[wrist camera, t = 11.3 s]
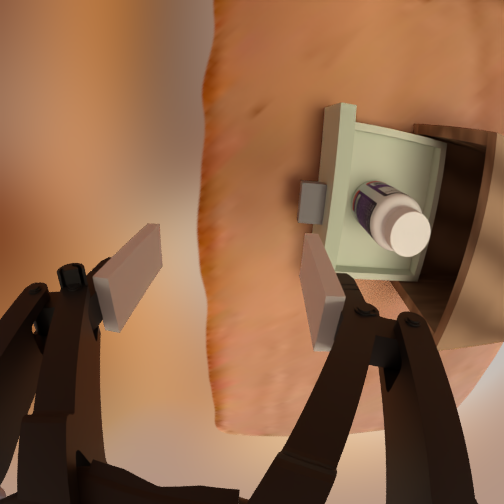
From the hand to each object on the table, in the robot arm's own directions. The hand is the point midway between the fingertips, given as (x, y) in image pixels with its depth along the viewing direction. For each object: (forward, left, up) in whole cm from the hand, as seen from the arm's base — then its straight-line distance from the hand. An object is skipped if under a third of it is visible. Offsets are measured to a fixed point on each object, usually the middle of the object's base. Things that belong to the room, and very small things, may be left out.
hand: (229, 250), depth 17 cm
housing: (0, +26, -17) cm, 31 cm away
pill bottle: (0, +14, -15) cm, 21 cm away
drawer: (0, +13, -17) cm, 22 cm away
